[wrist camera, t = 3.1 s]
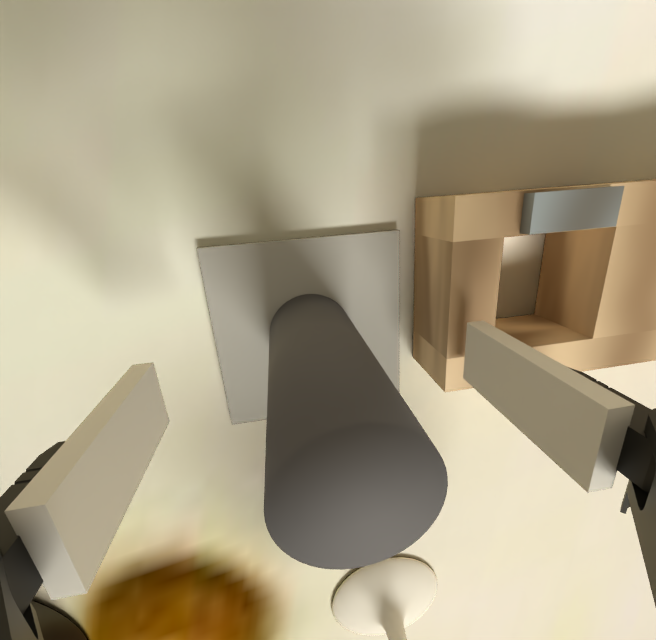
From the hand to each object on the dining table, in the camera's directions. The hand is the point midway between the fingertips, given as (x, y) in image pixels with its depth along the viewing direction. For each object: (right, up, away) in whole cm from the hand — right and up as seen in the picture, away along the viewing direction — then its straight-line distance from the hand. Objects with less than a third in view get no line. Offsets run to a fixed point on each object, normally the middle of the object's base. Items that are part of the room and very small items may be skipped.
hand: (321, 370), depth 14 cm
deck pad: (-1, +2, +4) cm, 5 cm away
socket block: (+15, +5, +6) cm, 17 cm away
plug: (-1, +1, +4) cm, 4 cm away
